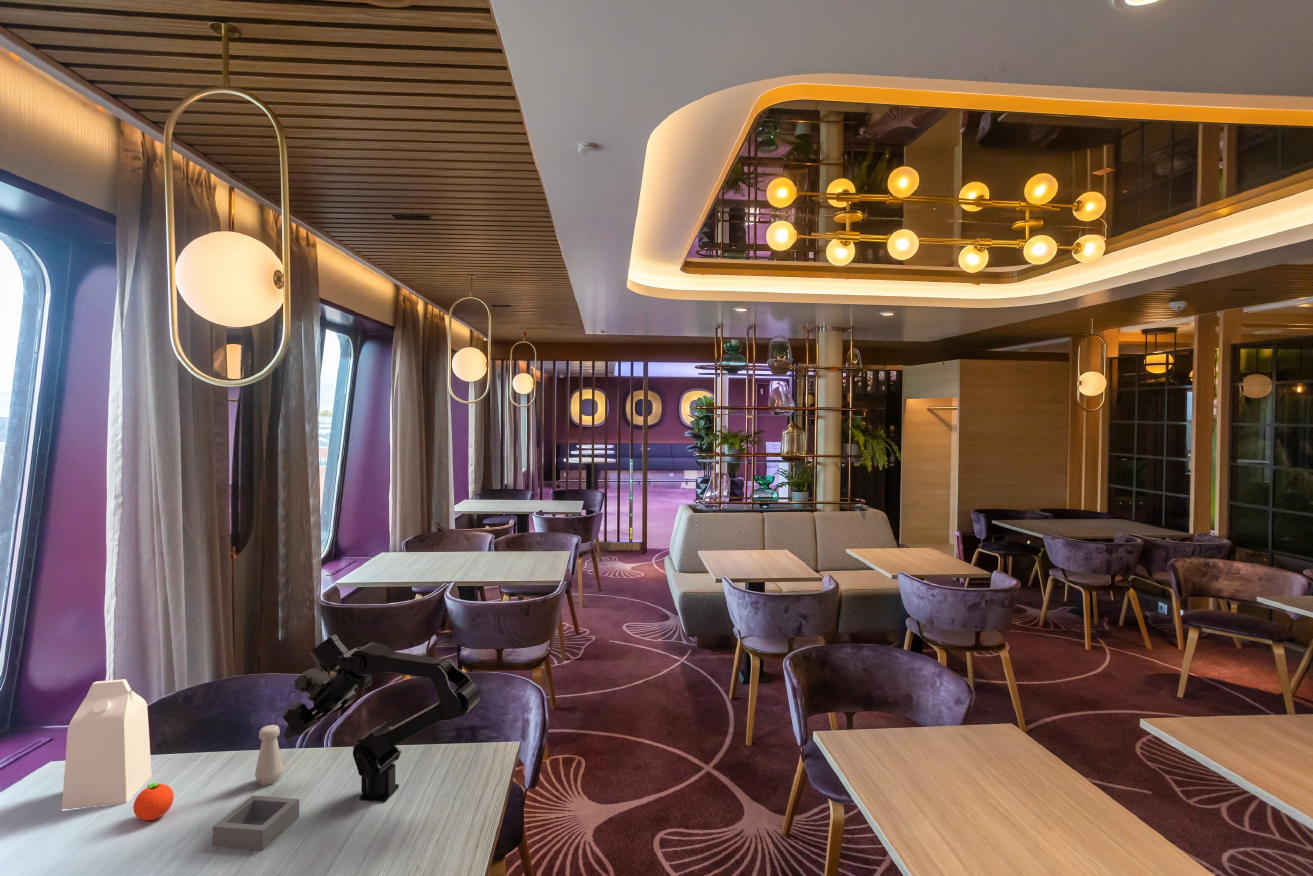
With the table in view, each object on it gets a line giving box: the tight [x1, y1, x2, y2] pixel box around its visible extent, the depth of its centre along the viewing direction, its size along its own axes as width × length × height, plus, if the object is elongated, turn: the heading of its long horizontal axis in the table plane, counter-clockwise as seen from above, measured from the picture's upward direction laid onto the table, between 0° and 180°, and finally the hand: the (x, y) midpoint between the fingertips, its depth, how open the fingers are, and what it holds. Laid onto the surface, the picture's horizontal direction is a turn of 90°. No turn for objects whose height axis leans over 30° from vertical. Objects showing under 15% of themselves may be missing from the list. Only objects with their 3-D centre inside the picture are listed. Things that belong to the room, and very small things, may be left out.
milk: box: [61, 678, 153, 810], centre depth 146 cm, size 12×12×26 cm
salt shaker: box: [254, 724, 284, 787], centre depth 152 cm, size 6×6×13 cm
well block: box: [212, 795, 300, 851], centre depth 133 cm, size 11×11×4 cm
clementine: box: [132, 782, 175, 821], centre depth 138 cm, size 8×7×7 cm
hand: (299, 728), depth 151 cm, fingers open, 9 cm apart
